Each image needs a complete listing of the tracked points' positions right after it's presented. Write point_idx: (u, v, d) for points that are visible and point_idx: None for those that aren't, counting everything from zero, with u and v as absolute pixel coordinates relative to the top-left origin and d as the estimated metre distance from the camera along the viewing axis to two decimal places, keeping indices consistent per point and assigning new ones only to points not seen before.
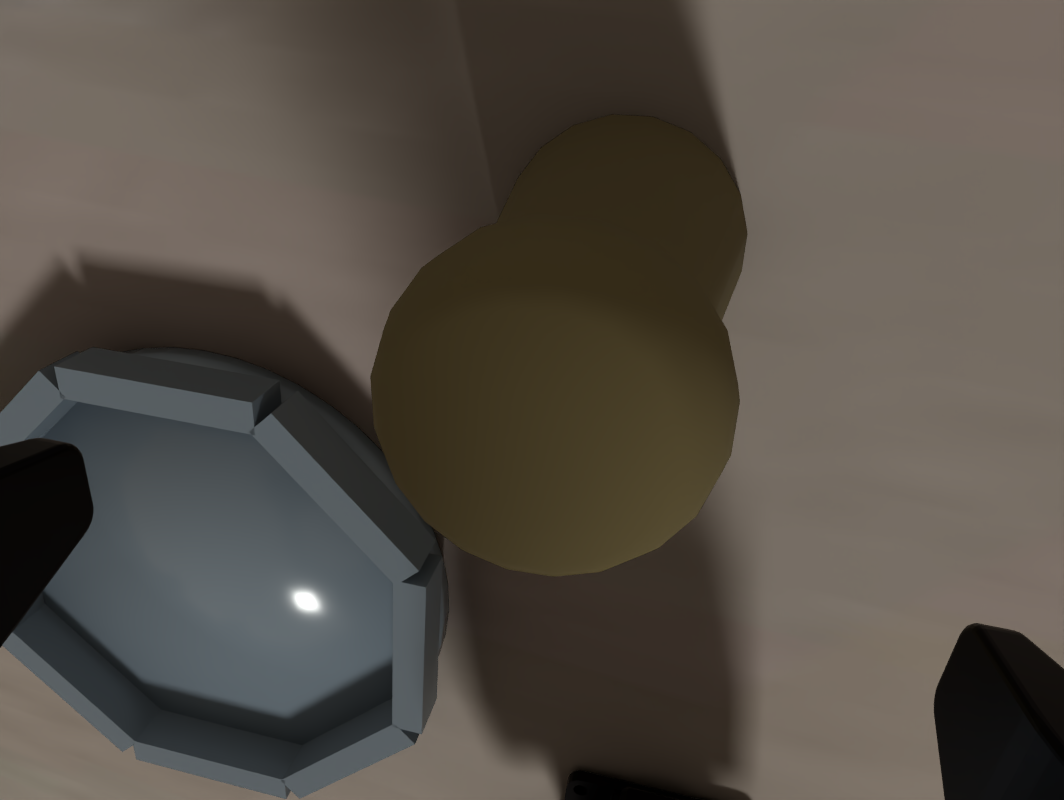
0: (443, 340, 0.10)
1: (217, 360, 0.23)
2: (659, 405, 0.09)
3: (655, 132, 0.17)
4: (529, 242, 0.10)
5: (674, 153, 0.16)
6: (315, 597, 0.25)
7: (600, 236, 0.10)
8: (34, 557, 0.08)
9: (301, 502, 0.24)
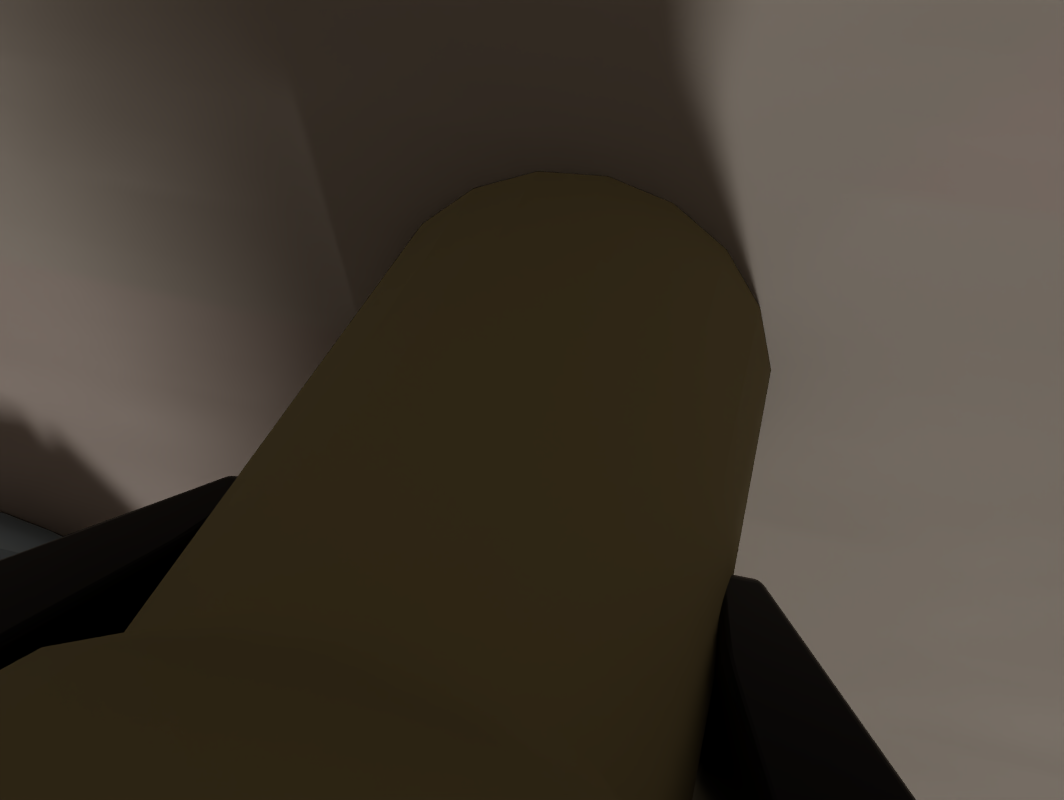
0: None
1: None
2: None
3: (608, 212, 0.09)
4: None
5: (639, 259, 0.09)
6: None
7: None
8: None
9: None
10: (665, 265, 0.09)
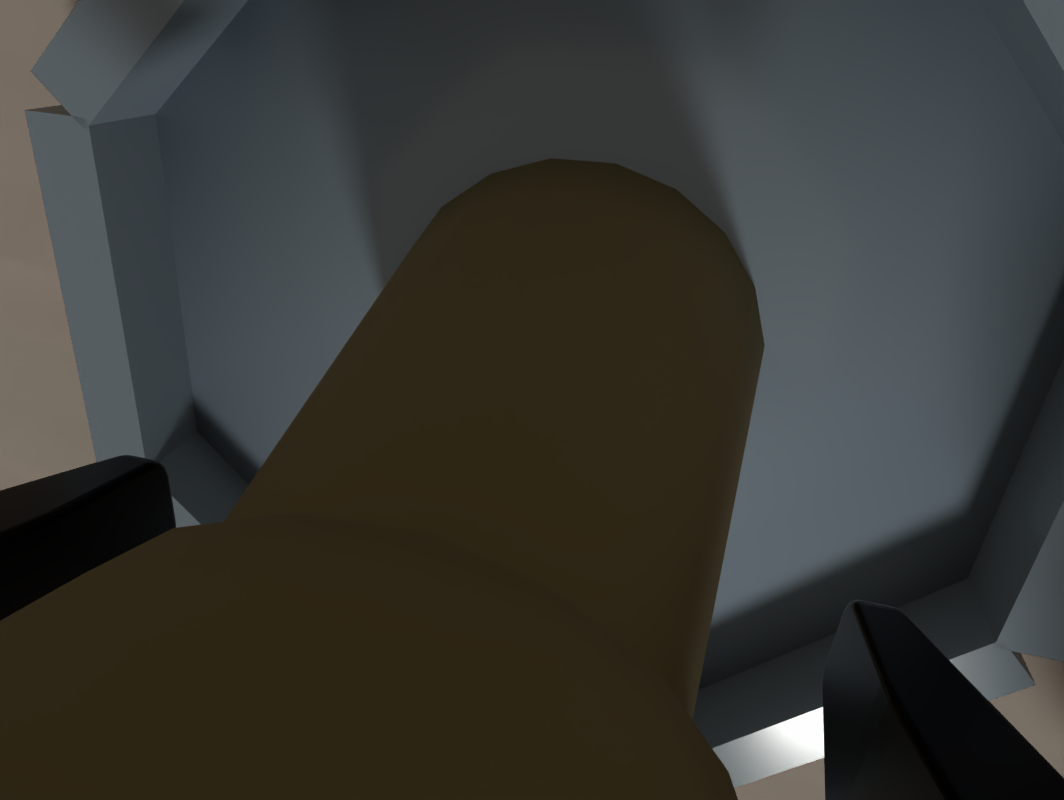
0: None
1: None
2: None
3: (617, 195, 0.10)
4: (88, 780, 0.03)
5: (647, 238, 0.09)
6: (812, 374, 0.12)
7: (356, 723, 0.03)
8: None
9: (858, 121, 0.10)
10: (670, 243, 0.10)
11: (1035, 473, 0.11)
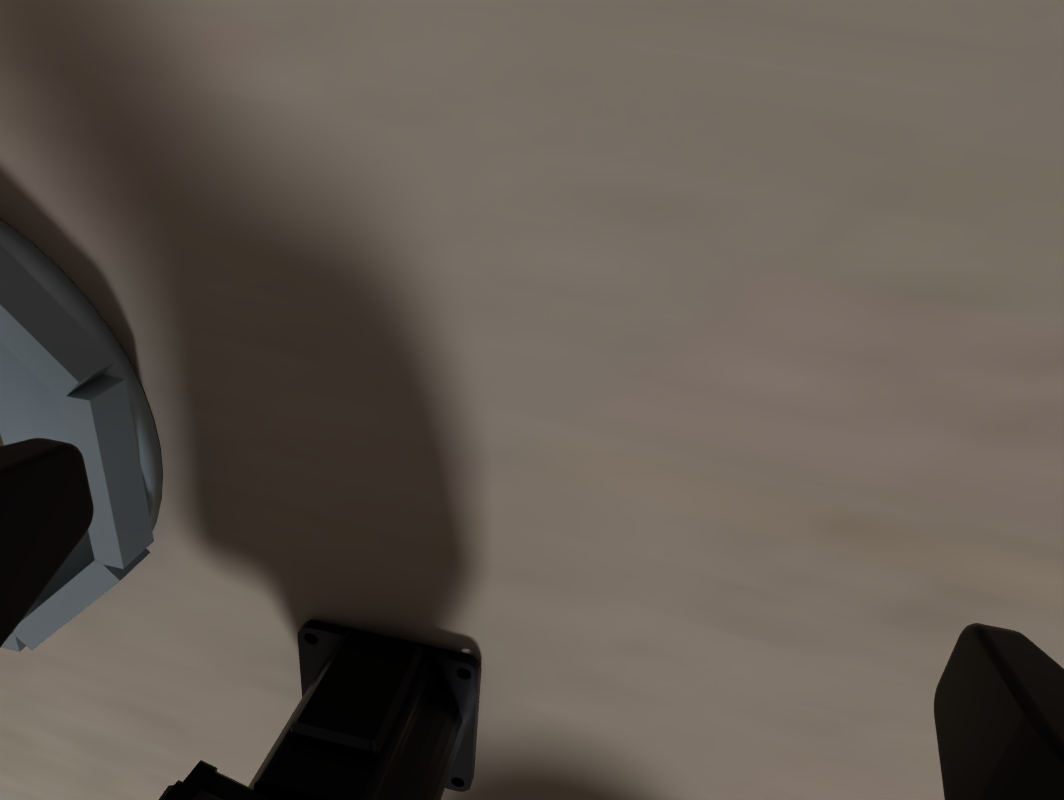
0: None
1: None
2: None
3: None
4: None
5: None
6: (20, 433, 0.25)
7: None
8: (34, 557, 0.08)
9: None
10: None
11: None
